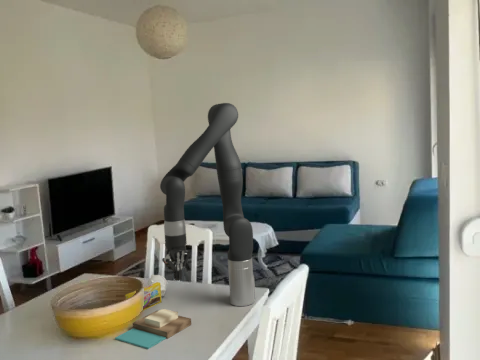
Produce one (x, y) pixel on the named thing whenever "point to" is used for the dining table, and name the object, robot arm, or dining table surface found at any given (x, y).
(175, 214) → the robot arm
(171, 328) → the wooden board
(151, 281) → the cat figurine
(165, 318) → the tile
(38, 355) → the dining table surface
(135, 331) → the mat
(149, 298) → the candy box
